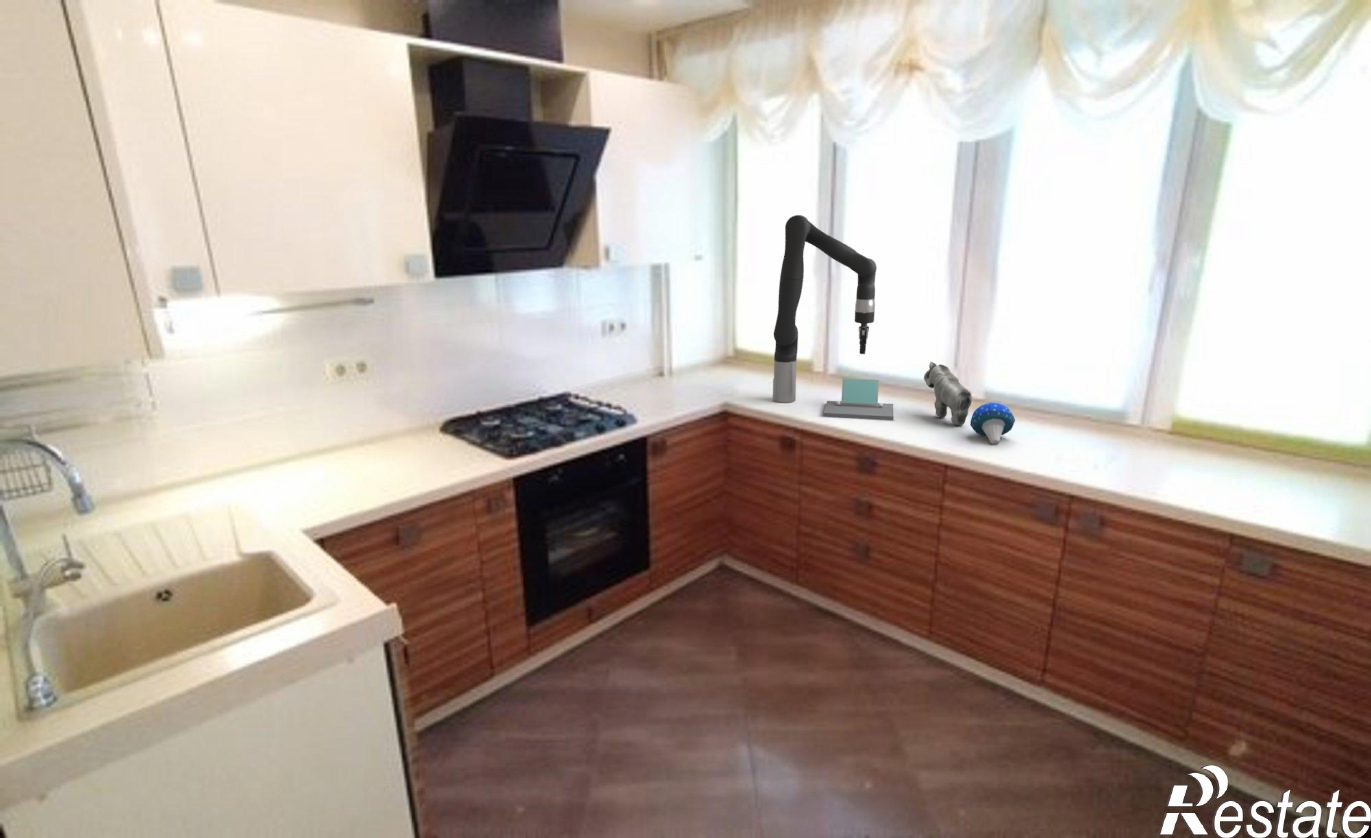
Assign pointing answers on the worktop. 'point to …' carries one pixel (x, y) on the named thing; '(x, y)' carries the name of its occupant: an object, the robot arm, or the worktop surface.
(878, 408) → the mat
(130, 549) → the worktop surface
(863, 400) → the tile
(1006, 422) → the mushroom
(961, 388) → the grey animal figure
